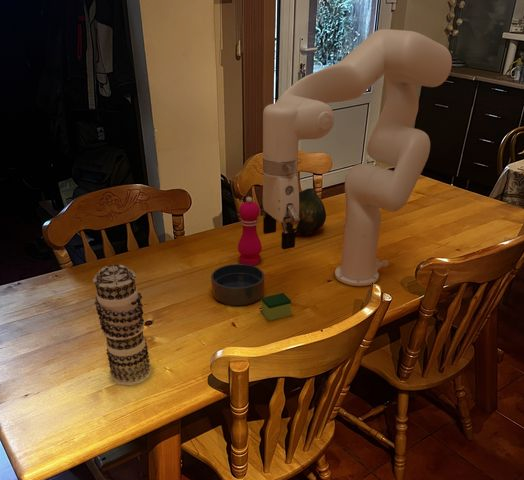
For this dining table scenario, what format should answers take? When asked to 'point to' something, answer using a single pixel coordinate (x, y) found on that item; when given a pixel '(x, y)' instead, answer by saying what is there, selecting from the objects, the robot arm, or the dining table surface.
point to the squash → (309, 212)
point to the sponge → (276, 306)
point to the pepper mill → (249, 233)
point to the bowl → (237, 284)
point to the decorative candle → (122, 324)
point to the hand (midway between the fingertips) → (278, 240)
